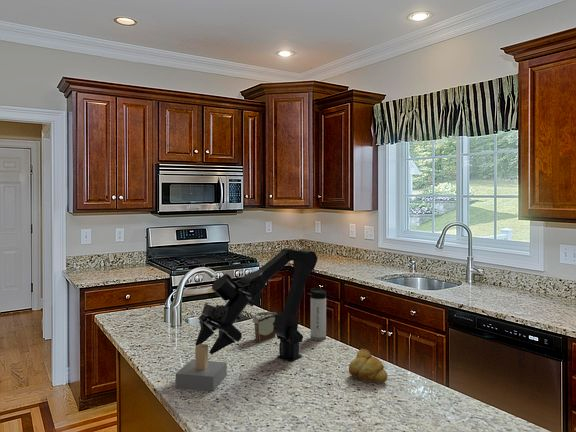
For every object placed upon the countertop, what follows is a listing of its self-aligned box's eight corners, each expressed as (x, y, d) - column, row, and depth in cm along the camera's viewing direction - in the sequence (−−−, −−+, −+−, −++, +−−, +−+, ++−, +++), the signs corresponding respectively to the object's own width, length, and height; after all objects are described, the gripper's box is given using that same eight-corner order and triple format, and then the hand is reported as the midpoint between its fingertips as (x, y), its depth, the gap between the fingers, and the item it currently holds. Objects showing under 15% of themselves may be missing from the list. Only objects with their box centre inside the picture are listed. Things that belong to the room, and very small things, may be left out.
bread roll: (393, 381, 147) (394, 356, 147) (372, 389, 141) (372, 363, 141) (363, 369, 157) (363, 345, 157) (342, 376, 151) (342, 351, 151)
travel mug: (317, 334, 196) (317, 286, 194) (329, 337, 191) (329, 289, 190) (306, 337, 191) (306, 289, 190) (318, 341, 186) (319, 291, 185)
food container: (266, 333, 197) (266, 310, 196) (277, 336, 193) (277, 312, 192) (246, 340, 187) (245, 316, 186) (257, 344, 183) (257, 318, 183)
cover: (226, 375, 151) (226, 341, 151) (213, 391, 140) (213, 353, 139) (191, 372, 154) (191, 338, 153) (175, 387, 142) (175, 350, 142)
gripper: (203, 289, 156) (172, 328, 150) (233, 299, 142) (200, 342, 135) (224, 308, 162) (195, 347, 155) (254, 320, 147) (224, 363, 141)
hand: (203, 349), depth 147 cm, fingers open, 9 cm apart
